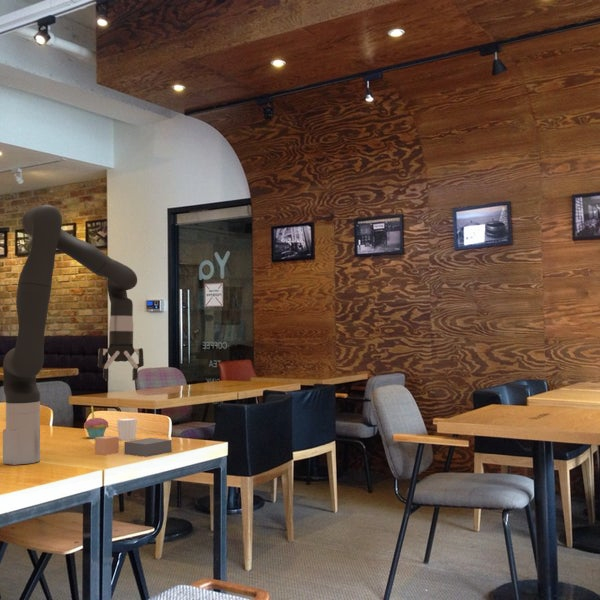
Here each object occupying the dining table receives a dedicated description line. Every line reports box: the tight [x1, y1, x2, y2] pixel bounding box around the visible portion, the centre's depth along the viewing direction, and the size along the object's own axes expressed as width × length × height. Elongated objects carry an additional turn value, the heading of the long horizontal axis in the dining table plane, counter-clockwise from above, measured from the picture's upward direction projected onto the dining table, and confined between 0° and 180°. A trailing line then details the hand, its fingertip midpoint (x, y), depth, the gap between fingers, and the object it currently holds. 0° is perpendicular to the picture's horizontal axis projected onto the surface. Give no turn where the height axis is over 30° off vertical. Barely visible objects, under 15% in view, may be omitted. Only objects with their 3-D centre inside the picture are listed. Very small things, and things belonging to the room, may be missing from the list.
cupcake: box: [83, 404, 109, 440], centre depth 249 cm, size 9×8×12 cm
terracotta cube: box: [94, 435, 120, 456], centre depth 212 cm, size 5×5×5 cm
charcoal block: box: [124, 437, 173, 458], centre depth 211 cm, size 10×10×4 cm
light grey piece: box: [116, 417, 138, 441], centre depth 243 cm, size 7×7×7 cm
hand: (120, 380), depth 222 cm, fingers open, 8 cm apart
